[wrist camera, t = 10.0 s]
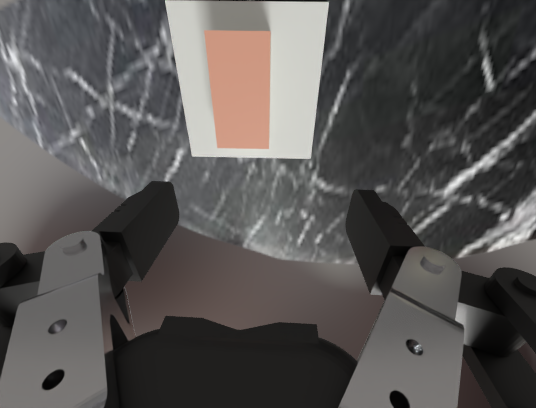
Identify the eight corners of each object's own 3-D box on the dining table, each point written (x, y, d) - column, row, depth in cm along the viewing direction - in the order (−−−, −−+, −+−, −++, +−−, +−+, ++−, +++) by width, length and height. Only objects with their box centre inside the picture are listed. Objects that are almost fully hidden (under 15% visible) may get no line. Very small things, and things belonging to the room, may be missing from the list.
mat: (327, 3, 21) (328, 2, 21) (309, 156, 29) (310, 158, 29) (167, 1, 22) (165, 0, 21) (193, 154, 30) (192, 156, 29)
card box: (214, 34, 22) (204, 30, 19) (271, 35, 22) (270, 30, 19) (224, 137, 28) (217, 148, 24) (269, 138, 28) (269, 149, 24)
